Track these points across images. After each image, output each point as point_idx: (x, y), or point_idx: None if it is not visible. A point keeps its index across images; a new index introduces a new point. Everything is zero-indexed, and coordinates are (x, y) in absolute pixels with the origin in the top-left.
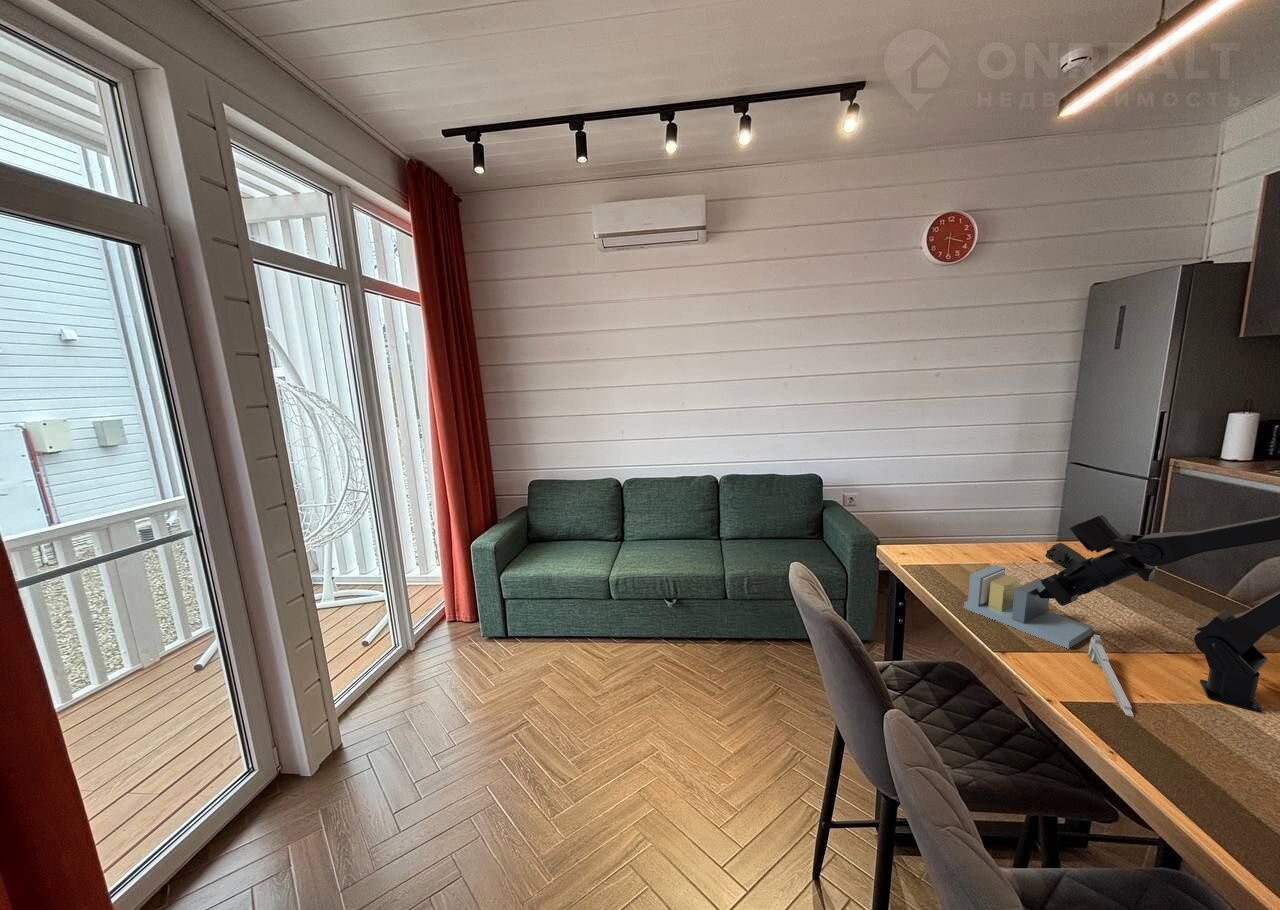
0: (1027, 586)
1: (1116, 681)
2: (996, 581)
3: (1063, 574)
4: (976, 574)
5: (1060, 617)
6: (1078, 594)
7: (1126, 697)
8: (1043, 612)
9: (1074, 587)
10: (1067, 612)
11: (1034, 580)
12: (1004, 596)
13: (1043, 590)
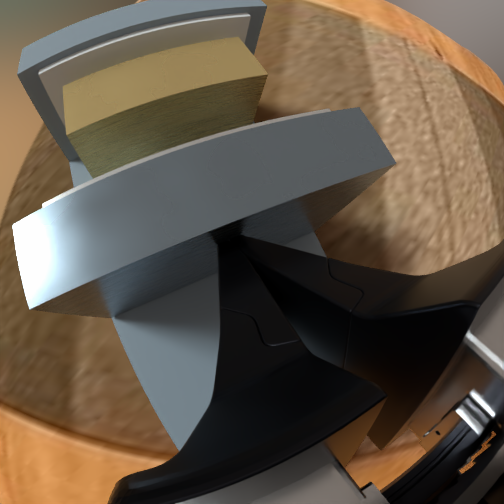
0: (141, 193)
1: None
2: (93, 82)
3: (486, 315)
4: (43, 44)
5: None
6: (383, 448)
7: None
8: (282, 244)
9: (415, 427)
10: (393, 217)
11: (302, 119)
12: (105, 166)
13: (219, 281)
